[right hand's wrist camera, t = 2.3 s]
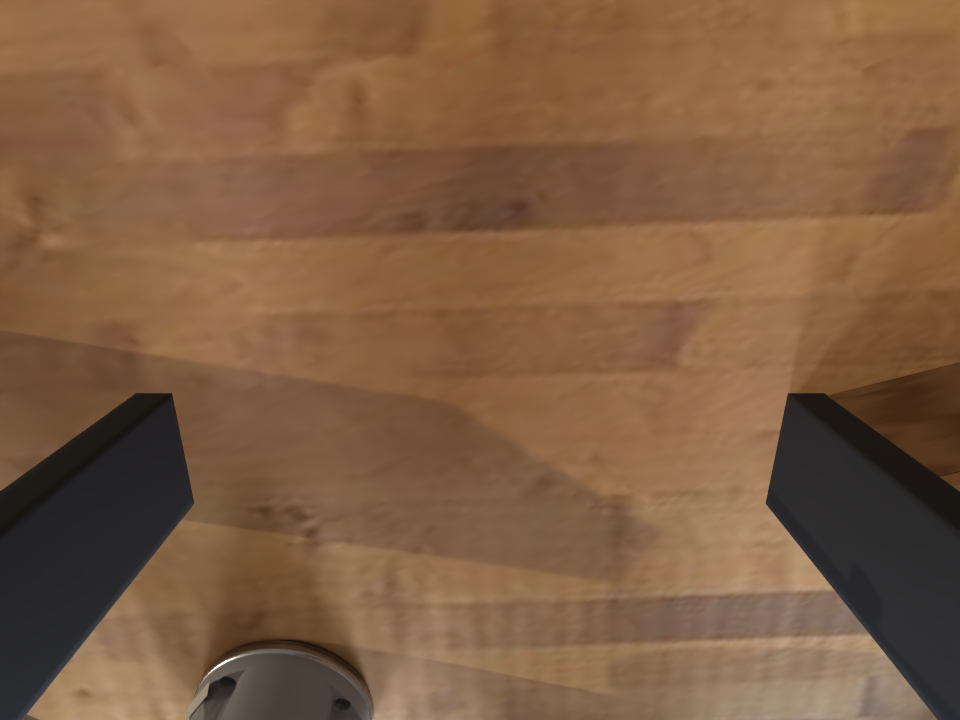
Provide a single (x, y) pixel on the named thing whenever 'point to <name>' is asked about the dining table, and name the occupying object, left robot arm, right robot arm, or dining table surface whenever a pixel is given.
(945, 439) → the chest
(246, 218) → the dining table surface
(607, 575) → the dining table surface
